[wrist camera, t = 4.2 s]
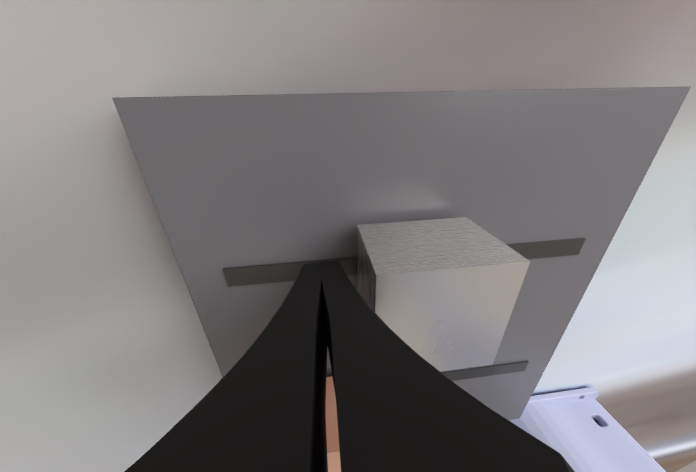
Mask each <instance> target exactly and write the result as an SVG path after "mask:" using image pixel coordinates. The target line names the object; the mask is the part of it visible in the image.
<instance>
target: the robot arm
mask: <svg viewBox="0 0 696 472" xmlns="http://www.w3.org/2000/svg"><path fill="white" fill-rule="evenodd" d="M327 347H328V352H329V358H330V365H331V371H332V377H333V384H334V390H335V397H336V407H337V421H338V435H339V449H340V464H341V472H666V471H665V470H664V469H663V468H662V467H661V466H660V465H659V464H658V463H657V462H656V461H655V460H654V459H653V458H652V457H651V456H650V455H649V454H648V453H647V452H646V451H645V450H644V449H643V448H642V447H641V446H640V445H639V444H638V443H637V442H636V441H635V440H634V439H633V438H632V437H631V436H630V435H629V434H628V432H627V431H626V430H625V429H624V428H623V427H622V426H621V425H620V424H619V423H618V422H617V421H616V420H615V419H614V418H613V417H612V416H611V415H610V414H609V413H608V412H607V411H606V410H605V409H604V408H603V407H602V406H601V405H600V404H599V403H598V402H597V401H596V400H595V399H596V398H597V396H598V395H599V392H598V391H597V390H596V389H595V388H594V387H588V388H582V389H575V390H568V391H562V392H555V393H548V394H542V395H535V396H531V397H530V399H529V401H528V403H527V405H526V407H525V409H524V411H523V413H522V415H521V417H520V418H519V419H513V420H507V419H506V418H504V417H503V416H501V415H499V414H498V413H496V412H495V411H493V410H492V409H490V408H489V407H487V406H486V405H484V404H483V403H482V402H480V401H479V400H477V399H476V398H475V397H473V396H472V395H470V394H469V393H468V392H466V391H465V390H463V389H462V388H461V387H459V386H458V385H456V384H455V383H454V382H453V381H451V380H450V379H449V378H448V377H446V376H445V375H444V374H443V373H441V372H440V371H439V370H437V369H436V368H435V367H434V366H432V365H431V364H430V363H429V362H427V361H426V360H425V359H424V358H422V357H421V356H420V355H419V354H417V353H416V352H415V351H414V350H413V349H412V348H411V347H410V346H408V345H407V344H406V343H405V342H404V341H403V340H402V339H401V338H400V337H399V336H398V335H397V334H396V333H394V332H393V331H392V330H391V329H390V328H389V327H388V326H387V325H386V324H385V323H384V321H383V320H382V319H381V318H380V317H379V316H378V315H377V314H376V313H375V312H374V311H373V309H372V308H371V307H370V306H369V305H368V304H367V302H366V301H365V300H364V299H363V297H362V296H361V295H360V293H359V292H358V291H357V290H356V288H355V287H354V285H353V284H352V283H351V281H350V280H349V278H348V277H347V275H346V273H345V272H344V270H343V268H342V266H341V264H340V263H339V262H338V261H335V262H323V263H312V264H304V265H303V267H302V268H301V270H300V273H299V275H298V277H297V279H296V281H295V282H294V284H293V286H292V288H291V290H290V291H289V293H288V295H287V296H286V298H285V299H284V301H283V303H282V304H281V306H280V307H279V309H278V310H277V312H276V313H275V315H274V316H273V317H272V319H271V320H270V322H269V323H268V325H267V326H266V327H265V329H264V330H263V331H262V333H261V334H260V335H259V337H258V338H257V339H256V340H255V342H254V343H253V344H252V345H251V346H250V348H249V349H248V350H247V351H246V352H245V354H244V355H243V356H242V357H241V358H240V360H239V361H238V362H237V363H236V364H235V365H234V366H233V367H232V368H231V369H230V371H229V372H228V373H227V374H226V375H225V376H224V377H223V378H222V379H221V380H220V381H219V383H218V384H217V385H216V386H215V387H214V388H213V389H212V390H211V391H210V392H209V393H208V394H207V395H206V396H205V397H204V398H203V399H202V400H201V401H200V402H199V403H198V404H197V405H196V406H195V407H194V408H193V409H192V410H191V411H190V412H189V413H188V414H186V415H185V416H184V417H183V418H182V419H181V420H180V421H179V422H178V423H177V424H176V425H175V426H174V427H173V428H172V429H171V430H170V431H169V432H168V433H167V434H166V435H165V436H163V437H162V438H161V439H160V440H159V441H158V442H157V443H156V444H155V445H154V446H153V447H152V448H151V449H150V450H148V451H147V452H146V453H145V454H144V455H143V456H142V457H141V458H140V459H139V460H137V461H136V462H135V463H134V464H133V465H132V466H131V467H129V468H128V469H127V470H126V471H125V472H328V461H327V438H326V376H327Z"/></svg>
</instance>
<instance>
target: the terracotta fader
mask: <svg viewBox="0 0 696 472" xmlns="http://www.w3.org/2000/svg"><path fill="white" fill-rule="evenodd" d="M326 438H327V461H328V472H341V464H340V449H339V435H338V421H337V407H336V397H335V390H334V384H333V377H326Z"/></svg>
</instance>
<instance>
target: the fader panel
mask: <svg viewBox="0 0 696 472" xmlns="http://www.w3.org/2000/svg"><path fill="white" fill-rule="evenodd" d="M690 88H691V87H642V88H591V89H540V90H488V91H437V92H385V93H334V94H283V95H231V96H180V97H128V98H112V99H113V101H114V104H115V106H116V109H117V111H118V114H119V116H120V119H121V121H122V124H123V126H124V129H125V131H126V134H127V136H128V139H129V141H130V144H131V146H132V149H133V151H134V154H135V157H136V159H137V162H138V164H139V167H140V169H141V172H142V174H143V177H144V179H145V182H146V184H147V187H148V189H149V192H150V194H151V197H152V199H153V202H154V204H155V207H156V209H157V212H158V215H159V217H160V220H161V222H162V225H163V227H164V230H165V232H166V235H167V237H168V240H169V242H170V245H171V247H172V250H173V252H174V255H175V257H176V260H177V262H178V265H179V267H180V270H181V273H182V275H183V278H184V280H185V283H186V285H187V288H188V290H189V293H190V295H191V298H192V300H193V303H194V305H195V308H196V310H197V313H198V315H199V318H200V320H201V323H202V325H203V328H204V331H205V333H206V336H207V338H208V341H209V343H210V346H211V348H212V351H213V353H214V356H215V358H216V361H217V363H218V366H219V368H220V371H221V373H222V376H223V377H224V376H225V375H226V374H227V373H228V372H229V371H230V369H231V368H232V367H233V366H234V365H235V364H236V363H237V362H238V361H239V360H240V358H241V357H242V356H243V355H244V354H245V352H246V351H247V350H248V349H249V348H250V346H251V345H252V344H253V343H254V342H255V340H256V339H257V338H258V337H259V335H260V334H261V333H262V331H263V330H264V329H265V327H266V326H267V325H268V323H269V322H270V320H271V319H272V317H273V316H274V315H275V313H276V312H277V310H278V309H279V307H280V306H281V304H282V303H283V301H284V299H285V298H286V296H287V295H288V293H289V291H290V290H291V288H292V286H293V284H294V282H295V281H296V279H297V277H298V275H299V273H300V270H301V268H302V267H303V265H304V264H312V263H323V262H335V261H338V262H339V263H340V264H341V266H342V268H343V270H344V272H345V273H346V275H347V277H348V278H349V280H350V281H351V283H352V284H353V285H354V287H355V288H356V290H357V291H358V264H357V225H364V224H378V223H392V222H406V221H419V220H433V219H447V218H461V217H467V218H468V219H470V220H471V221H472V222H474V223H475V224H477V225H478V226H480V227H481V228H483V229H484V230H486V231H487V232H488V233H490V234H491V235H493V236H494V237H496V238H497V239H499V240H500V241H502V242H503V243H504V244H506V245H507V246H509V247H510V248H512V249H513V250H515V251H516V252H517V253H519V254H520V255H522V256H523V257H525V258H526V259H528V260H529V261H530V264H529V267H528V269H527V272H526V275H525V278H524V280H523V283H522V286H521V289H520V291H519V294H518V297H517V300H516V302H515V305H514V308H513V310H512V313H511V316H510V319H509V321H508V324H507V327H506V330H505V332H504V335H503V338H502V341H501V343H500V346H499V349H498V352H497V354H496V357H495V360H494V363H493V365H487V366H479V367H472V368H464V369H457V370H449V371H442V372H441V373H443V374H444V375H445V376H446V377H448V378H449V379H450V380H451V381H453V382H454V383H455V384H456V385H458V386H459V387H461V388H462V389H463V390H465V391H466V392H468V393H469V394H470V395H472V396H473V397H475V398H476V399H477V400H479V401H480V402H482V403H483V404H484V405H486V406H487V407H489V408H490V409H492V410H493V411H495V412H496V413H498V414H499V415H501V416H503V417H504V418H506V419H507V420H513V419H519V418H520V417H521V415H522V413H523V411H524V409H525V407H526V405H527V403H528V401H529V399H530V397H531V395H532V394H533V392H534V390H535V388H536V386H537V384H538V382H539V380H540V378H541V376H542V374H543V372H544V370H545V368H546V366H547V364H548V363H549V361H550V359H551V357H552V355H553V353H554V351H555V349H556V347H557V345H558V343H559V341H560V339H561V337H562V335H563V334H564V332H565V330H566V328H567V326H568V324H569V322H570V320H571V318H572V316H573V314H574V312H575V310H576V308H577V306H578V304H579V303H580V301H581V299H582V297H583V295H584V293H585V291H586V289H587V287H588V285H589V283H590V281H591V279H592V277H593V275H594V273H595V272H596V270H597V268H598V266H599V264H600V262H601V260H602V258H603V256H604V254H605V252H606V250H607V248H608V246H609V244H610V243H611V241H612V239H613V237H614V235H615V233H616V231H617V229H618V227H619V225H620V223H621V221H622V219H623V217H624V215H625V213H626V212H627V210H628V208H629V206H630V204H631V202H632V200H633V198H634V196H635V194H636V192H637V190H638V188H639V186H640V184H641V182H642V181H643V179H644V177H645V175H646V173H647V171H648V169H649V167H650V165H651V163H652V161H653V159H654V157H655V155H656V153H657V151H658V150H659V148H660V146H661V144H662V142H663V140H664V138H665V136H666V134H667V132H668V130H669V128H670V126H671V124H672V122H673V121H674V119H675V117H676V115H677V113H678V111H679V109H680V107H681V105H682V103H683V101H684V99H685V97H686V95H687V93H688V91H689V90H690ZM326 377H332V371H331V365H330V358H329V352H328V347H327V376H326Z"/></svg>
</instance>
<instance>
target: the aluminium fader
mask: <svg viewBox="0 0 696 472" xmlns="http://www.w3.org/2000/svg"><path fill="white" fill-rule="evenodd" d="M357 264H358V292H359V293H360V295H361V296H362V297H363V299H364V300H365V301H366V302H367V304H368V305H369V306H370V307H371V308H372V309H373V311H374V312H375V313H376V314H377V315H378V316H379V317H380V318H381V319H382V320H383V321H384V323H385V324H386V325H387V326H388V327H389V328H390V329H391V330H392V331H393V332H394V333H396V334H397V335H398V336H399V337H400V338H401V339H402V340H403V341H404V342H405V343H406V344H407V345H408V346H410V347H411V348H412V349H413V350H414V351H415V352H416V353H417V354H419V355H420V356H421V357H422V358H424V359H425V360H426V361H427V362H429V363H430V364H431V365H432V366H434V367H435V368H436V369H437V370H439V371H440V372H442V371H449V370H457V369H464V368H472V367H479V366H487V365H493V363H494V360H495V357H496V354H497V352H498V349H499V346H500V343H501V341H502V338H503V335H504V332H505V330H506V327H507V324H508V321H509V319H510V316H511V313H512V310H513V308H514V305H515V302H516V300H517V297H518V294H519V291H520V289H521V286H522V283H523V280H524V278H525V275H526V272H527V269H528V267H529V264H530V261H529V260H528V259H526V258H525V257H523V256H522V255H520V254H519V253H517V252H516V251H515V250H513V249H512V248H510V247H509V246H507V245H506V244H504V243H503V242H502V241H500V240H499V239H497V238H496V237H494V236H493V235H491V234H490V233H488V232H487V231H486V230H484V229H483V228H481V227H480V226H478V225H477V224H475V223H474V222H472V221H471V220H470V219H468V218H467V217H461V218H447V219H433V220H419V221H406V222H392V223H378V224H364V225H357Z"/></svg>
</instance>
